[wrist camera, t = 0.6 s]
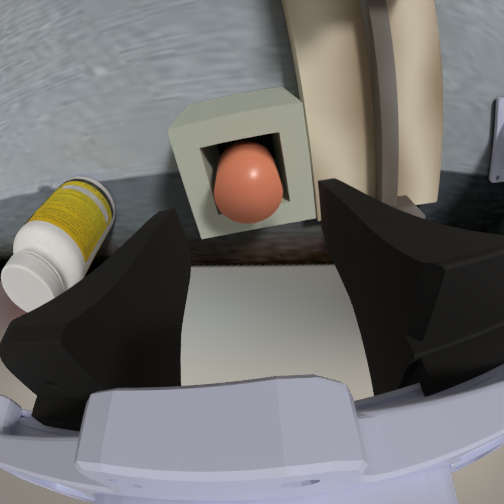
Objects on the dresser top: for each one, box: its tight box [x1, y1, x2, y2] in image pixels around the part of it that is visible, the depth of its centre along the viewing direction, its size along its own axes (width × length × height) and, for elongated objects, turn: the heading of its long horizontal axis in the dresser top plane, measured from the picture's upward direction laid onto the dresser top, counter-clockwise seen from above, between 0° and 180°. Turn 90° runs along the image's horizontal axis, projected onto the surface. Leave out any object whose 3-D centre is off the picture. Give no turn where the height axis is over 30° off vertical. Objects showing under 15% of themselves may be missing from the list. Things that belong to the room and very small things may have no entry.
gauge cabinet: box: [167, 86, 316, 239], centre depth 17 cm, size 6×6×6 cm
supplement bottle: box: [1, 177, 115, 312], centre depth 18 cm, size 5×5×10 cm
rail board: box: [281, 0, 443, 221], centre depth 14 cm, size 10×24×4 cm, turn 11°
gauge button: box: [214, 141, 283, 224], centre depth 14 cm, size 3×3×3 cm
